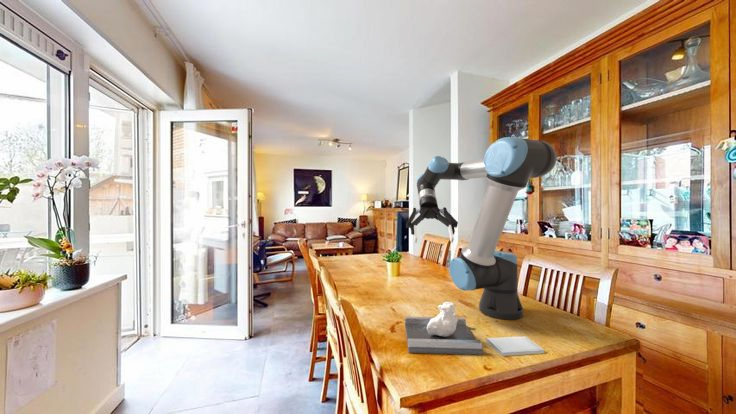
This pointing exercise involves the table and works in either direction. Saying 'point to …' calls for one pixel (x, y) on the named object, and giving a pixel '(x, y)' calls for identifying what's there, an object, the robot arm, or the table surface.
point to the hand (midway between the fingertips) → (434, 240)
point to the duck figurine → (443, 321)
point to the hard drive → (514, 346)
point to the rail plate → (440, 338)
